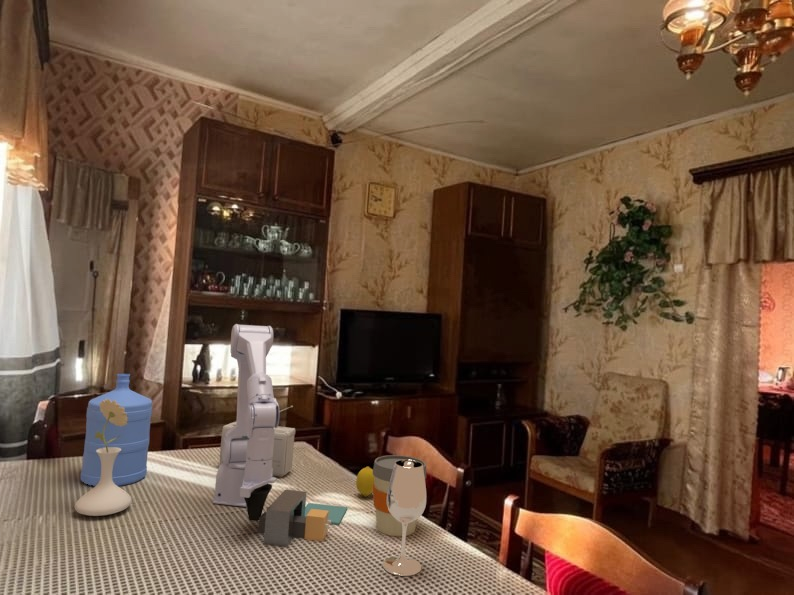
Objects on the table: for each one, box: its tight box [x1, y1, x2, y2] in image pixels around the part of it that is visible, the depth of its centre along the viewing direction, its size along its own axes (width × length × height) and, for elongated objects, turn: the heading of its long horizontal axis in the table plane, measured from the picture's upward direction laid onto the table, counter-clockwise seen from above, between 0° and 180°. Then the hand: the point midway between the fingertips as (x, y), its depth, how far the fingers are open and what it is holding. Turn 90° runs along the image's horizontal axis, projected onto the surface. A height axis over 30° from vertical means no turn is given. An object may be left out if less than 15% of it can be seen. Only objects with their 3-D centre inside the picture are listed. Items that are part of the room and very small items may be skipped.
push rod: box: [257, 511, 306, 539], centre depth 111 cm, size 10×3×4 cm, turn 84°
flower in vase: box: [74, 399, 133, 517], centre depth 116 cm, size 13×11×25 cm
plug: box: [304, 509, 332, 542], centre depth 110 cm, size 5×4×5 cm
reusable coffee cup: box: [372, 454, 427, 537], centre depth 117 cm, size 13×13×15 cm
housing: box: [263, 489, 307, 547], centre depth 111 cm, size 5×12×7 cm, turn 174°
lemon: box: [355, 466, 374, 498], centre depth 136 cm, size 6×6×8 cm
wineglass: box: [382, 460, 427, 577], centre depth 99 cm, size 8×8×20 cm
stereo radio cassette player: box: [219, 405, 296, 478], centre depth 152 cm, size 21×8×20 cm, turn 77°
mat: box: [305, 502, 348, 526], centre depth 122 cm, size 10×10×1 cm
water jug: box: [80, 373, 153, 487], centre depth 137 cm, size 16×16×28 cm
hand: (254, 519), depth 111 cm, fingers closed
